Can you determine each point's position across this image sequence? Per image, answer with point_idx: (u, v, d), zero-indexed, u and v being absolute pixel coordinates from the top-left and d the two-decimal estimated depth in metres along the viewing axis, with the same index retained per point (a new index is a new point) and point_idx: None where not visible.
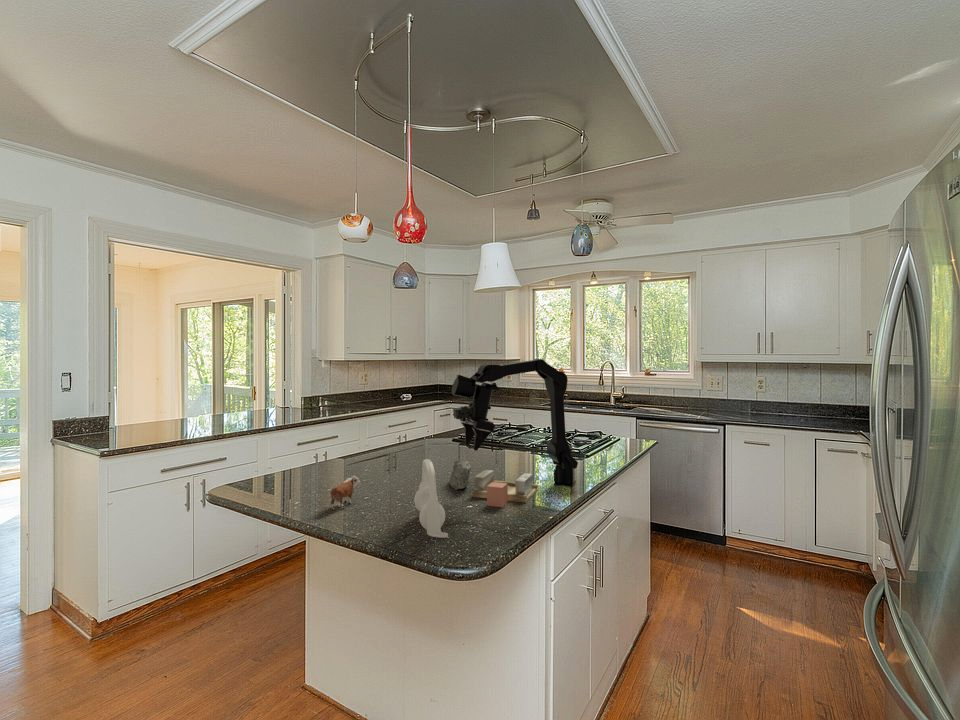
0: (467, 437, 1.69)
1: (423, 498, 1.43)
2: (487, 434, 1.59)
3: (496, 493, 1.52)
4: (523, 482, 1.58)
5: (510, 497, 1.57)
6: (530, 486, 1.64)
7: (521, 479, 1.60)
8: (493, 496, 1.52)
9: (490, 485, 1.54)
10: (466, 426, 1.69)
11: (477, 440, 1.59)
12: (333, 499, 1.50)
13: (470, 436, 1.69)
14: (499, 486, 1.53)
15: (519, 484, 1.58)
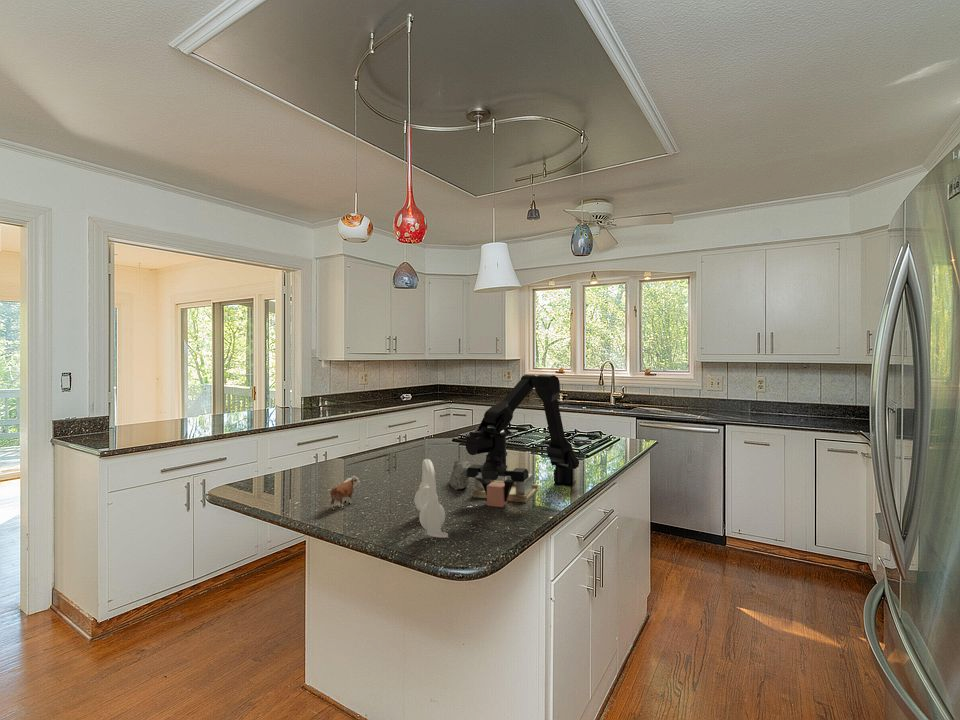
0: None
1: (423, 498, 1.43)
2: None
3: (496, 493, 1.52)
4: (523, 482, 1.58)
5: (510, 497, 1.57)
6: (530, 486, 1.64)
7: None
8: (493, 496, 1.52)
9: (490, 485, 1.54)
10: (486, 481, 1.54)
11: (508, 491, 1.53)
12: (333, 499, 1.50)
13: None
14: (499, 486, 1.52)
15: (519, 484, 1.58)
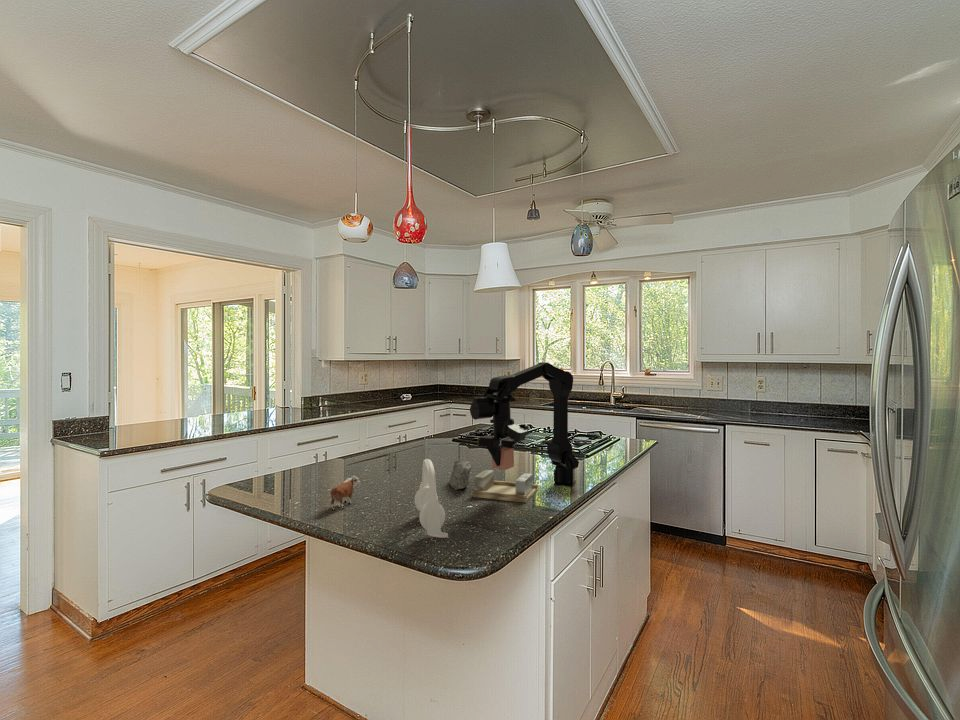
0: None
1: (423, 498, 1.43)
2: None
3: (510, 455, 1.61)
4: (523, 482, 1.58)
5: (510, 497, 1.57)
6: (530, 486, 1.64)
7: (521, 479, 1.60)
8: (508, 459, 1.60)
9: (503, 450, 1.60)
10: None
11: None
12: (333, 499, 1.50)
13: None
14: (508, 448, 1.62)
15: (519, 484, 1.58)
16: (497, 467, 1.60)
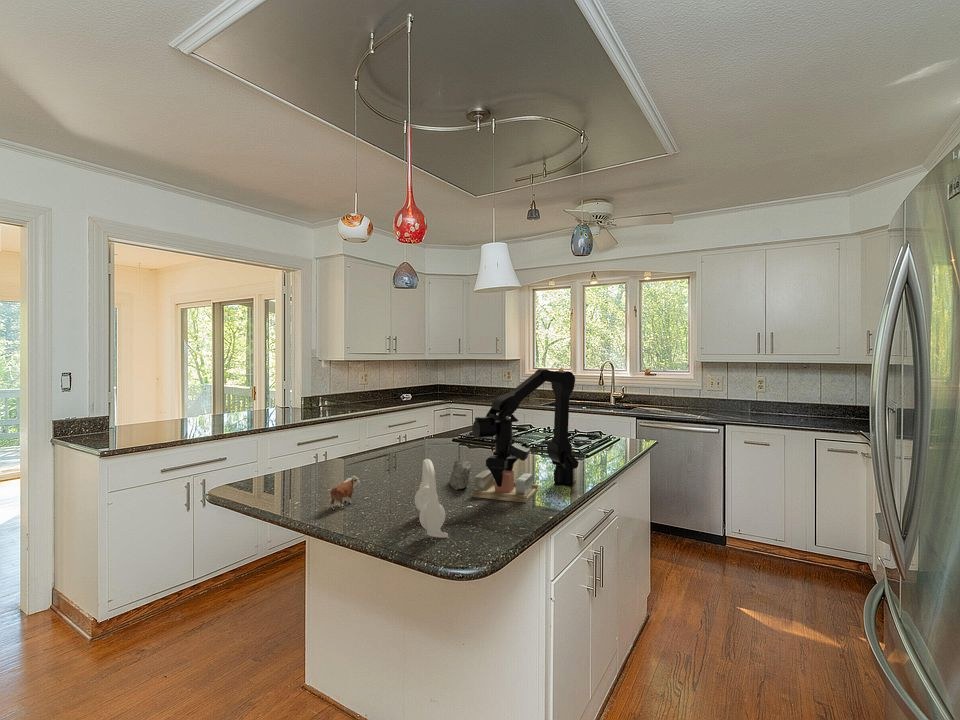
0: None
1: (423, 498, 1.43)
2: None
3: (512, 478, 1.65)
4: (523, 482, 1.58)
5: (510, 497, 1.57)
6: (530, 486, 1.64)
7: (521, 479, 1.60)
8: (511, 482, 1.64)
9: (506, 473, 1.63)
10: None
11: None
12: (333, 499, 1.50)
13: None
14: (509, 471, 1.66)
15: (519, 484, 1.58)
16: (500, 491, 1.63)
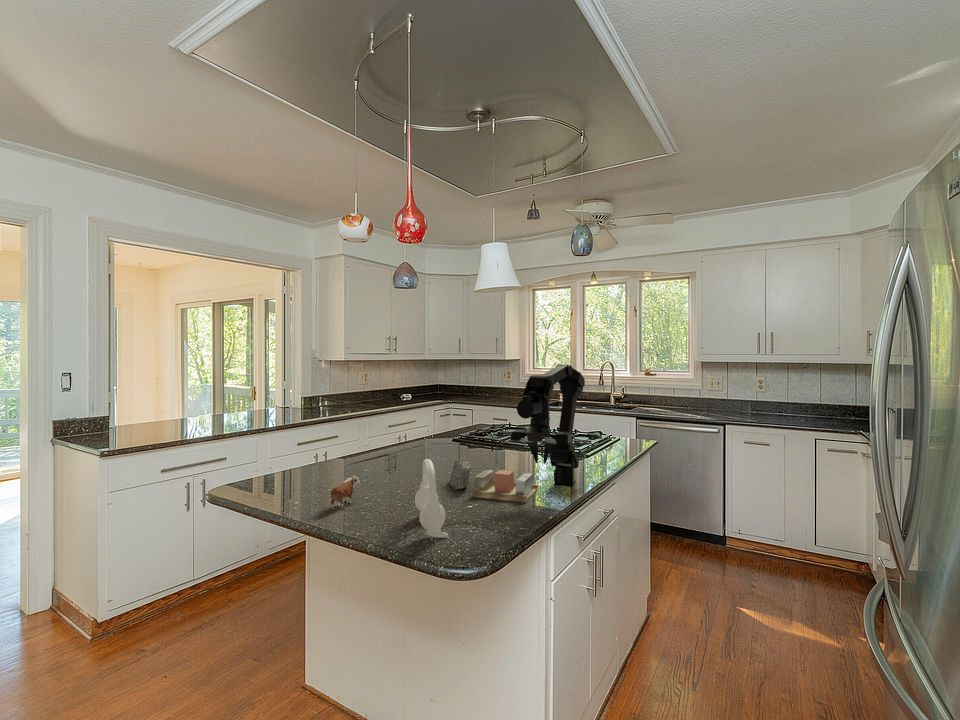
0: (536, 454, 1.61)
1: (423, 498, 1.43)
2: None
3: (512, 478, 1.65)
4: (523, 482, 1.58)
5: (510, 497, 1.57)
6: (530, 486, 1.64)
7: (521, 479, 1.60)
8: (511, 482, 1.64)
9: (506, 473, 1.63)
10: (534, 444, 1.60)
11: (547, 453, 1.59)
12: (333, 499, 1.50)
13: (537, 453, 1.61)
14: (509, 471, 1.66)
15: (519, 484, 1.58)
16: (500, 491, 1.63)
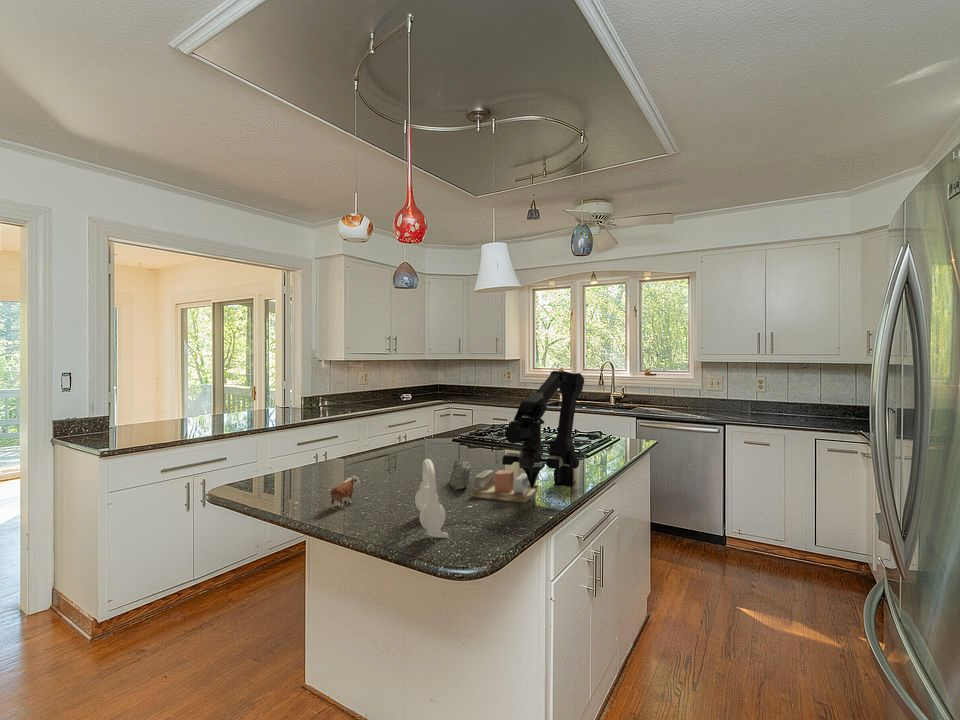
0: (531, 478, 1.62)
1: (424, 498, 1.43)
2: None
3: (512, 478, 1.65)
4: (521, 482, 1.58)
5: (510, 497, 1.57)
6: (528, 486, 1.64)
7: (519, 479, 1.60)
8: (511, 482, 1.64)
9: (506, 473, 1.63)
10: (529, 469, 1.60)
11: (536, 477, 1.61)
12: (333, 499, 1.50)
13: None
14: (509, 471, 1.66)
15: (517, 484, 1.58)
16: (500, 491, 1.63)
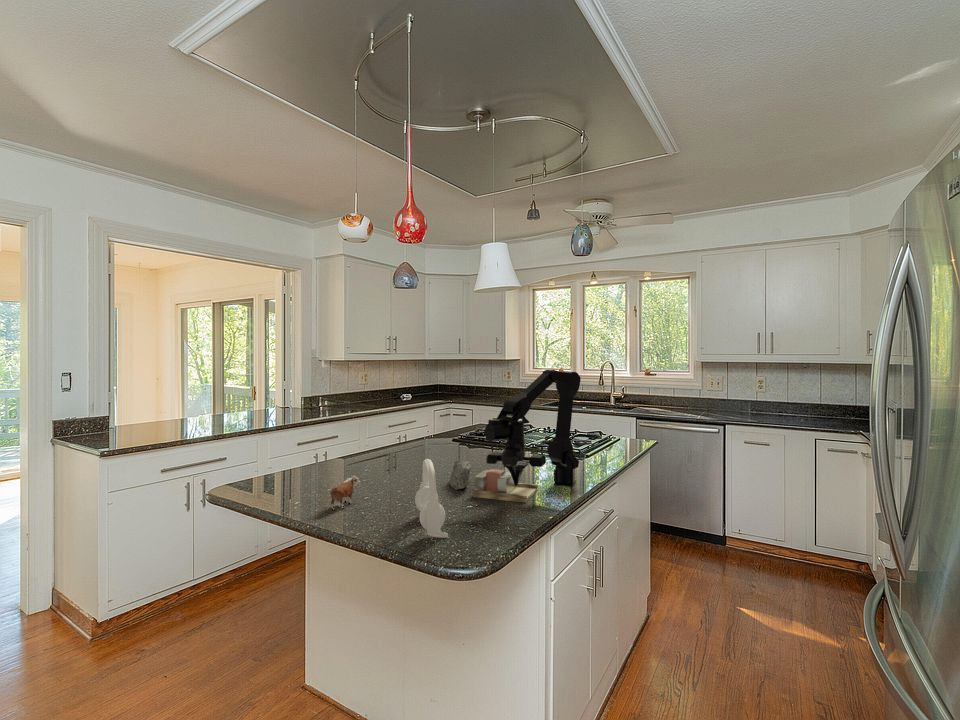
0: (515, 477, 1.64)
1: (424, 498, 1.43)
2: None
3: None
4: (505, 480, 1.60)
5: (510, 497, 1.57)
6: (513, 484, 1.66)
7: (503, 477, 1.62)
8: None
9: (497, 473, 1.64)
10: (513, 467, 1.62)
11: (519, 475, 1.63)
12: (333, 499, 1.50)
13: None
14: (501, 470, 1.67)
15: (501, 483, 1.60)
16: (491, 490, 1.64)
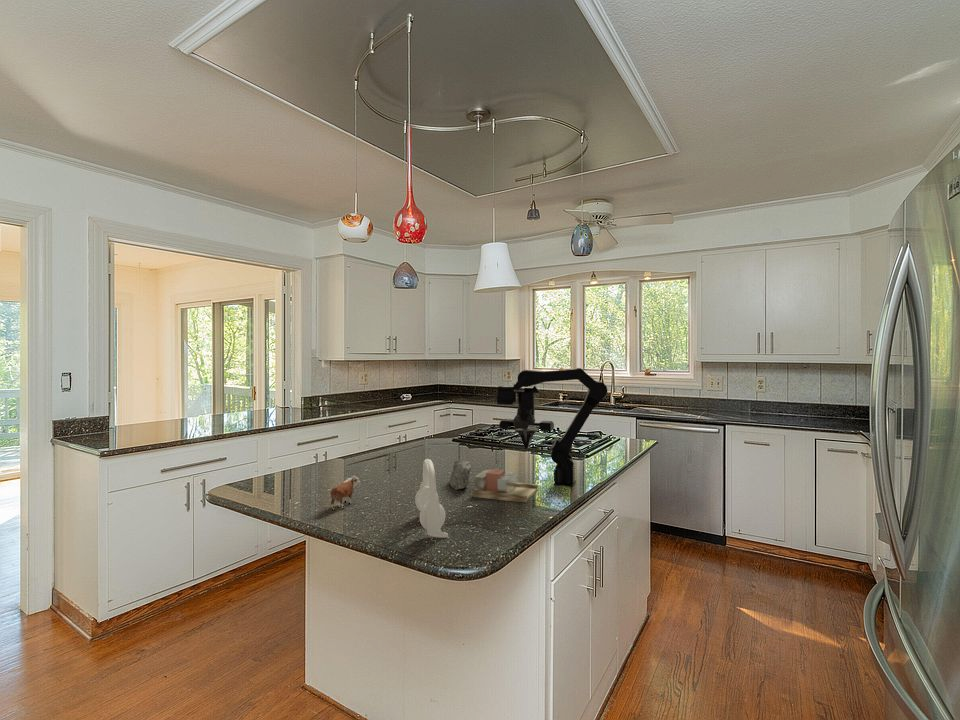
0: (525, 441, 1.78)
1: (424, 498, 1.43)
2: None
3: None
4: (505, 480, 1.60)
5: (510, 497, 1.57)
6: (513, 484, 1.66)
7: (503, 477, 1.62)
8: None
9: (497, 473, 1.64)
10: (523, 432, 1.76)
11: (529, 440, 1.77)
12: (333, 499, 1.50)
13: (526, 440, 1.78)
14: (501, 470, 1.67)
15: (501, 483, 1.60)
16: (491, 490, 1.64)
